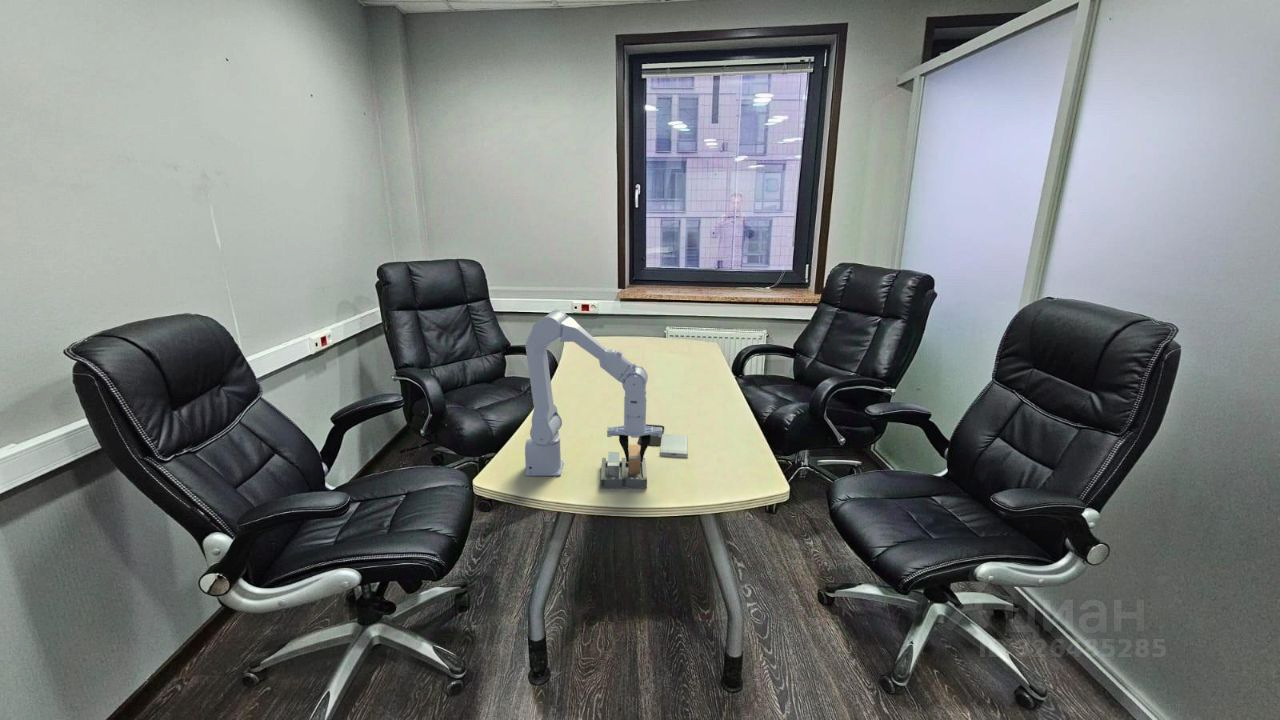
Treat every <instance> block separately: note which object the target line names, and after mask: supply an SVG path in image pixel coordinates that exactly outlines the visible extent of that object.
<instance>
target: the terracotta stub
mask: <svg viewBox="0 0 1280 720" xmlns="http://www.w3.org/2000/svg"><path fill="white" fill-rule="evenodd" d="M640 446H641V445H638V444H628V451H629V474H640V469H641V456H640Z"/></svg>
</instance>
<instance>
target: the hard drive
mask: <svg viewBox="0 0 1280 720" xmlns="http://www.w3.org/2000/svg"><path fill="white" fill-rule="evenodd" d="M688 442H689V441H688V435H685V434H683V435H682V434H665V433H663V435H662V438H661V446H659V447H660V451H659V456H661V457H674V458H688V457H689V455H688V453H689V450H688V449H689V446H688V444H689V443H688Z"/></svg>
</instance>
